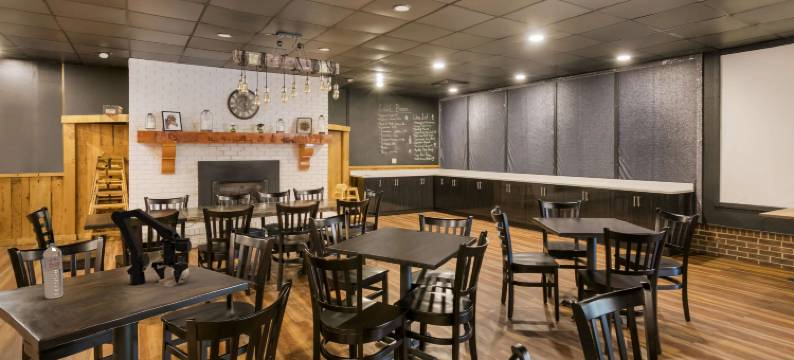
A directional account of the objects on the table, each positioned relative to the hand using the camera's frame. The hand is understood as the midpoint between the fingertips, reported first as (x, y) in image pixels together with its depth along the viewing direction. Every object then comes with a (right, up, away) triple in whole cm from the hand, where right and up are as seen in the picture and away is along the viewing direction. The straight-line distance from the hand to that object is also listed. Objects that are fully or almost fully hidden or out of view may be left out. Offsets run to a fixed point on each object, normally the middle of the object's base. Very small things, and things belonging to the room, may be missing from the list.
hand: (170, 281), depth 231 cm
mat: (0, -1, 0) cm, 1 cm away
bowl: (0, 0, +10) cm, 10 cm away
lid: (0, 0, 0) cm, 0 cm away
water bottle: (-43, -2, -22) cm, 48 cm away
